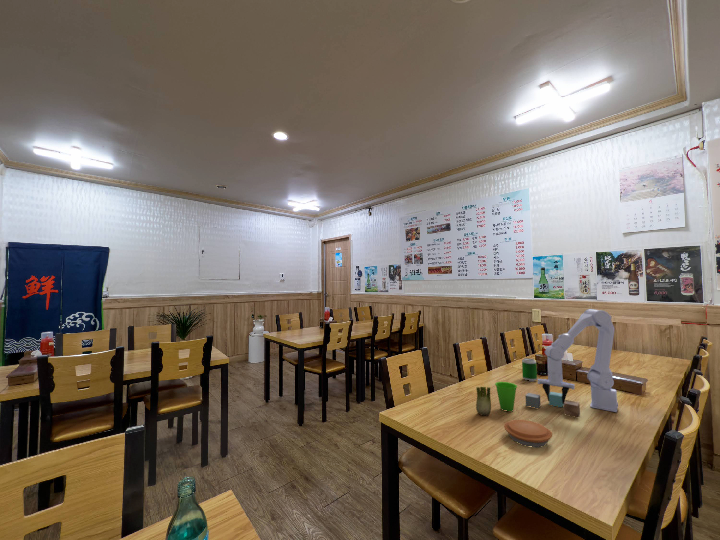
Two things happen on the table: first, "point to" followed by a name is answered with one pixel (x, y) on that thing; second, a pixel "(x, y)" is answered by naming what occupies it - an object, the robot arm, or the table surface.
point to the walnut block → (571, 408)
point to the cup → (506, 395)
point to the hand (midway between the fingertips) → (556, 402)
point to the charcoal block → (532, 400)
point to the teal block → (555, 399)
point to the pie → (528, 433)
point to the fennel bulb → (483, 401)
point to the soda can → (529, 369)
